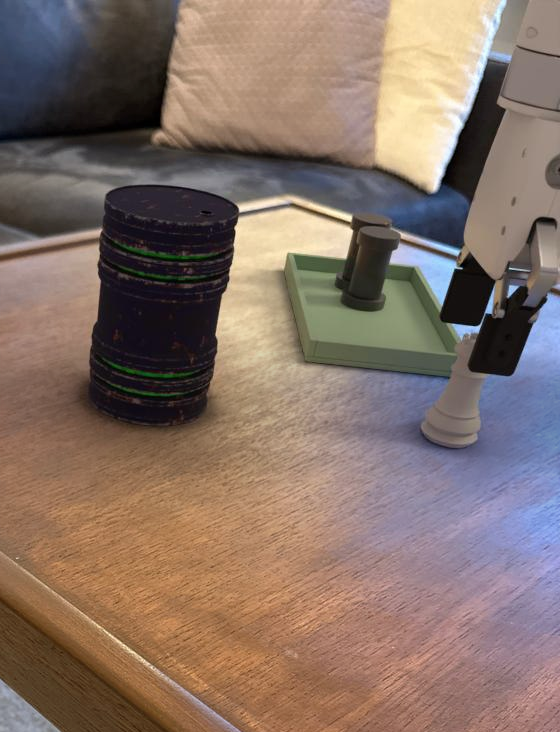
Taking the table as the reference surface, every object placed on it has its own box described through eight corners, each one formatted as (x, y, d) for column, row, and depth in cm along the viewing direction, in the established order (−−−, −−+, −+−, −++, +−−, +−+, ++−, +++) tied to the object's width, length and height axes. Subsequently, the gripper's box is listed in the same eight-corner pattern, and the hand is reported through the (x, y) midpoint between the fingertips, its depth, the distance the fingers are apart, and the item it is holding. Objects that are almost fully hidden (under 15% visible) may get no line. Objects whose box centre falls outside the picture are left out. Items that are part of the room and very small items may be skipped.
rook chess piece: (415, 420, 80) (445, 324, 75) (470, 428, 79) (505, 331, 74) (422, 445, 76) (455, 346, 71) (480, 453, 76) (517, 354, 71)
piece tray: (413, 284, 107) (418, 266, 106) (464, 378, 87) (471, 357, 86) (283, 270, 107) (287, 252, 106) (305, 361, 88) (310, 339, 86)
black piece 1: (372, 282, 105) (390, 214, 101) (379, 296, 102) (398, 226, 97) (331, 278, 105) (348, 209, 101) (336, 292, 102) (353, 221, 97)
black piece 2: (380, 298, 101) (399, 228, 97) (386, 313, 98) (406, 241, 93) (337, 294, 101) (354, 223, 97) (342, 309, 98) (360, 236, 93)
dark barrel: (61, 397, 78) (74, 198, 69) (131, 362, 84) (152, 176, 75) (165, 439, 74) (194, 233, 64) (230, 399, 80) (266, 207, 71)
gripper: (677, 121, 56) (557, 401, 66) (580, 73, 69) (494, 312, 80) (545, 105, 56) (447, 388, 66) (474, 60, 69) (402, 301, 80)
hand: (473, 346), depth 73 cm, fingers open, 9 cm apart
